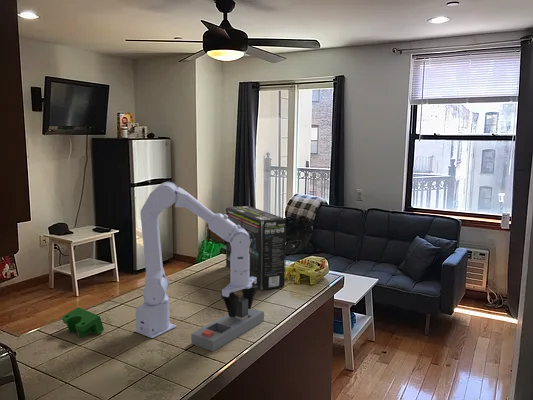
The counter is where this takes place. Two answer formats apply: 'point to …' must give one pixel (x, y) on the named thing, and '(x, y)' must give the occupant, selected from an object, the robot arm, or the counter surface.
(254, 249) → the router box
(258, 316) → the power strip
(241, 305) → the plug
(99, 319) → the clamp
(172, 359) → the counter surface
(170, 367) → the counter surface
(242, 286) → the robot arm
